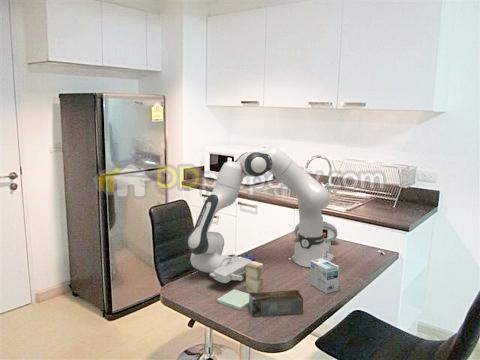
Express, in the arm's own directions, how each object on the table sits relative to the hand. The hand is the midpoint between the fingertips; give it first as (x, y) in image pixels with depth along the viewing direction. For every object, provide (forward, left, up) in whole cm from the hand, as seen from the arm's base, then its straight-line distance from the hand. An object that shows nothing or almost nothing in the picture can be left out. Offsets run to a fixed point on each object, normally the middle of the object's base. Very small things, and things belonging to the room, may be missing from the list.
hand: (249, 274), depth 166 cm
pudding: (-19, -13, -6) cm, 24 cm away
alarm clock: (-69, -2, -6) cm, 69 cm away
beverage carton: (+10, +18, -6) cm, 22 cm away
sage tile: (+12, +3, -6) cm, 14 cm away
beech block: (0, +3, -6) cm, 6 cm away
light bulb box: (-19, +25, -6) cm, 32 cm away
